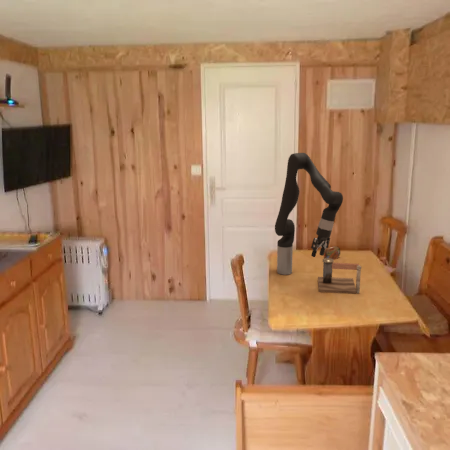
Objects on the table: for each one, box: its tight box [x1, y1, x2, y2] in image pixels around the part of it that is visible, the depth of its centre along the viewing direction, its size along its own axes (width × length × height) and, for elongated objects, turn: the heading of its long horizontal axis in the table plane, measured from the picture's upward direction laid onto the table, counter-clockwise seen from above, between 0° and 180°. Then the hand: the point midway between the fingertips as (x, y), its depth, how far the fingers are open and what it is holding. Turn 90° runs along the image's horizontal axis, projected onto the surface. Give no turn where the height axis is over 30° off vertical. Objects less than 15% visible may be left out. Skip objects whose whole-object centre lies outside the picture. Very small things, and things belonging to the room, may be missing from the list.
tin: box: [323, 245, 341, 261], centre depth 308 cm, size 15×3×8 cm, turn 129°
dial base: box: [317, 264, 362, 295], centre depth 260 cm, size 20×22×16 cm
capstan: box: [322, 257, 360, 283], centre depth 261 cm, size 20×6×13 cm, turn 78°
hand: (317, 255), depth 250 cm, fingers open, 8 cm apart
